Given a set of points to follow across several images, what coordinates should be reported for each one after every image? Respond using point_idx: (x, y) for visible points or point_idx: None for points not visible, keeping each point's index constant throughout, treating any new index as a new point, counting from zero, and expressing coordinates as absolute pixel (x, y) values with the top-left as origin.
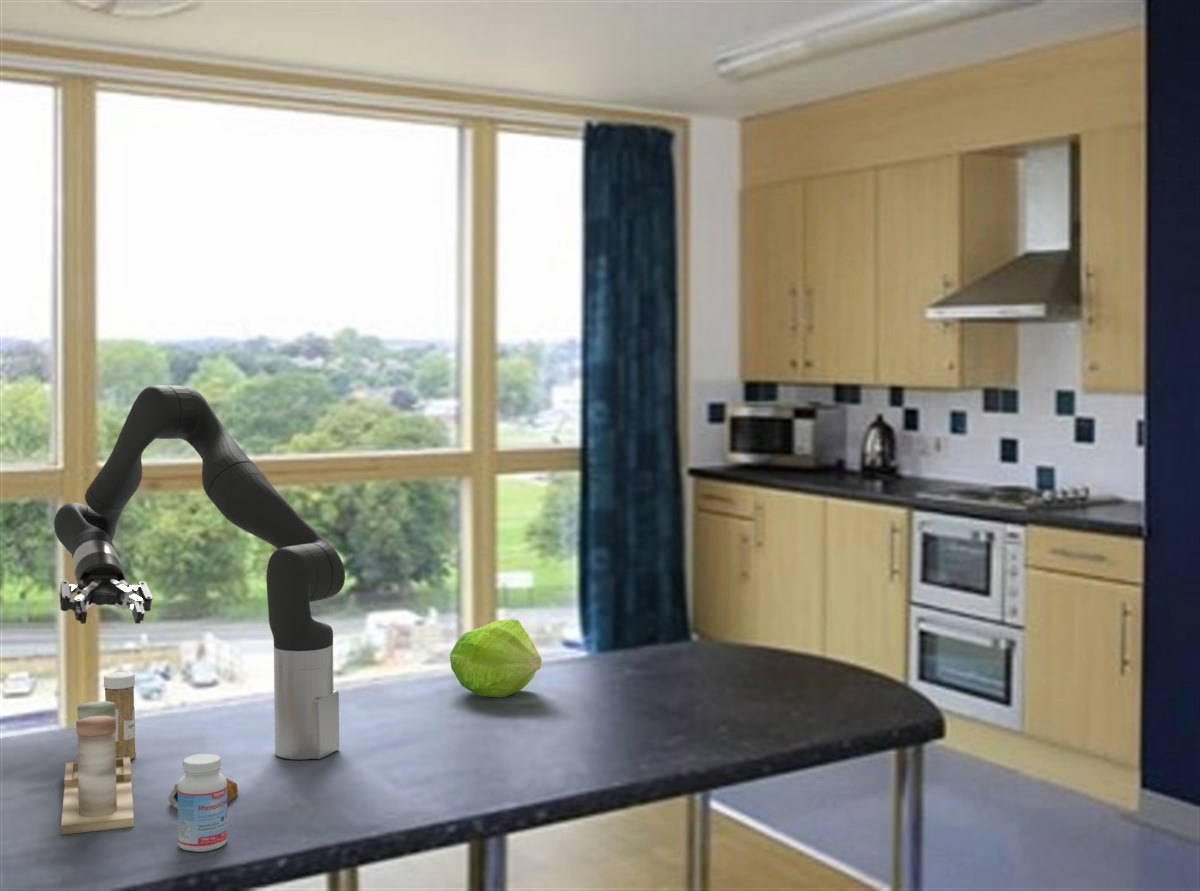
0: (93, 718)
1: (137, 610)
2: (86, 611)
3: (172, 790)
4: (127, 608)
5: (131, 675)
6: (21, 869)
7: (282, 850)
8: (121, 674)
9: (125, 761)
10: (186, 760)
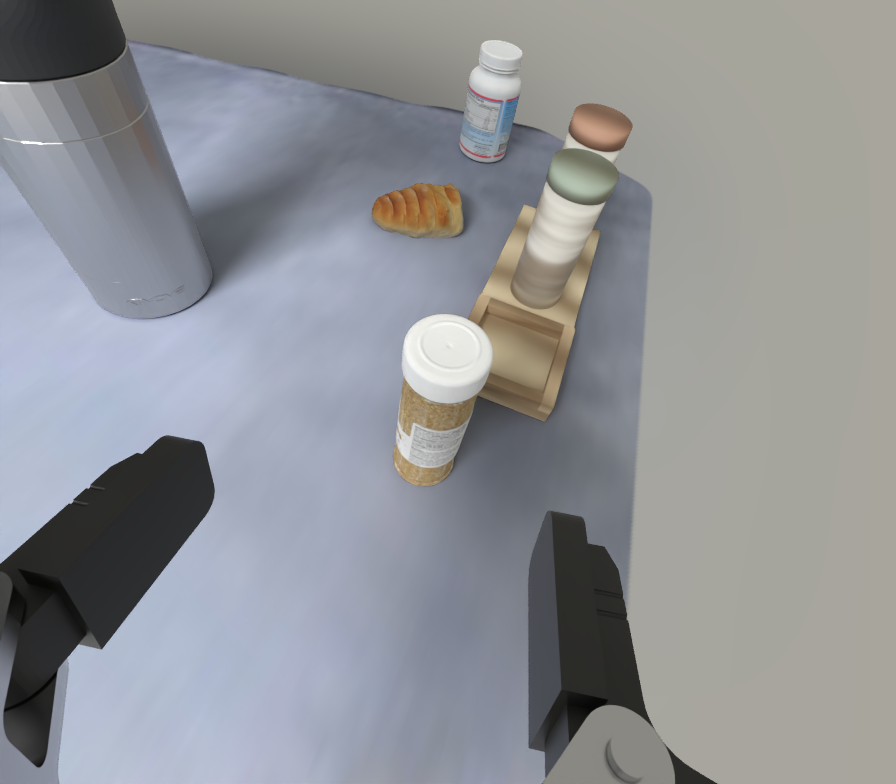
0: (604, 127)
1: (172, 454)
2: (553, 519)
3: (462, 214)
4: (57, 755)
5: (425, 318)
6: (642, 201)
7: (430, 111)
8: (445, 340)
9: None
10: (519, 54)
